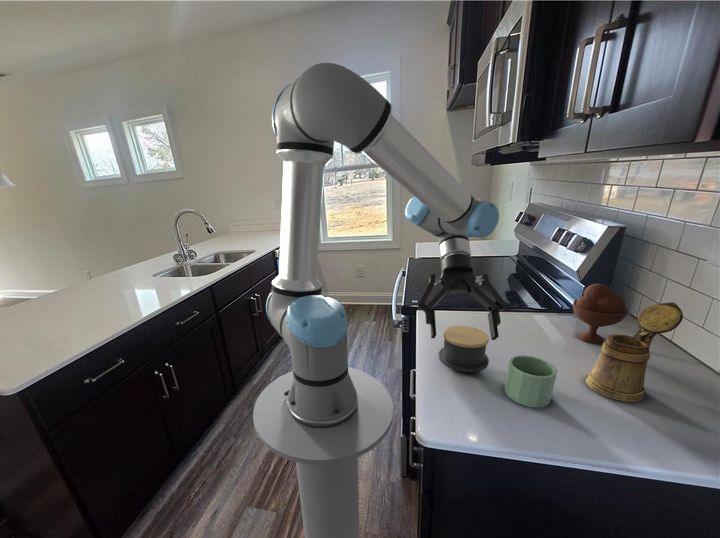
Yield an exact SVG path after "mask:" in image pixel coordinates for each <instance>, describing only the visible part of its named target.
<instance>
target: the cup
mask: <svg viewBox="0 0 720 538" xmlns="http://www.w3.org/2000/svg"><path fill="white" fill-rule="evenodd" d="M507 365H508V366H507V371H506V376H505V383H504V393H505V395H506V396H507V397H508V398H509V399H510V400H512V401H513V402H515V403H517V404H520V405H521V406H525V407H529V408H544V407H547V406H548V405H549V404H550V402H551V399H552V396H553V391H554V387H555V384H556V379H557V375H558V370H557V368H556V366H555V365H553V364H552V363H551V362H549V361H547V360H546V359H543V358H541V357H536V356H532V355H525V354H523V355H515V356H512V357H510V359H509V361H508V364H507Z"/></svg>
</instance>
